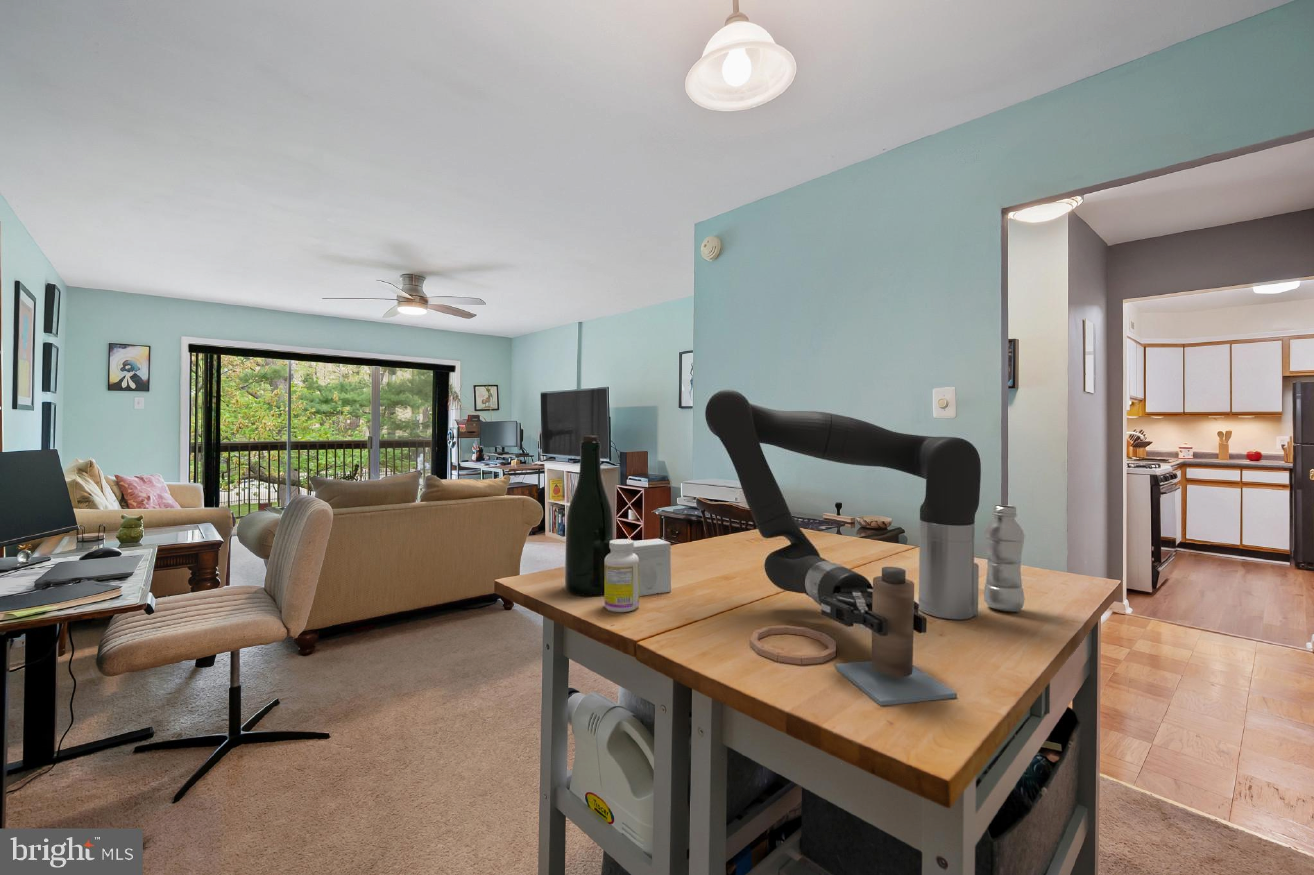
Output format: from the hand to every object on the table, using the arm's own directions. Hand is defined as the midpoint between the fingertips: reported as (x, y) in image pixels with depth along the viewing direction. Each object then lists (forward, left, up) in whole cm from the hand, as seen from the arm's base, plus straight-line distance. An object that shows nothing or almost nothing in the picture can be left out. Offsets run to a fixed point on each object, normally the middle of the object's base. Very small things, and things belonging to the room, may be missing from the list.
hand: (904, 627), depth 73 cm
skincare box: (+26, -50, -9) cm, 57 cm away
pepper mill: (0, -3, -7) cm, 7 cm away
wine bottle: (+37, -53, -9) cm, 66 cm away
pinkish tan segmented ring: (+8, -16, -8) cm, 20 cm away
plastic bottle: (-40, -25, -9) cm, 48 cm away
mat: (0, -2, -8) cm, 9 cm away
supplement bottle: (+32, -40, -9) cm, 52 cm away
